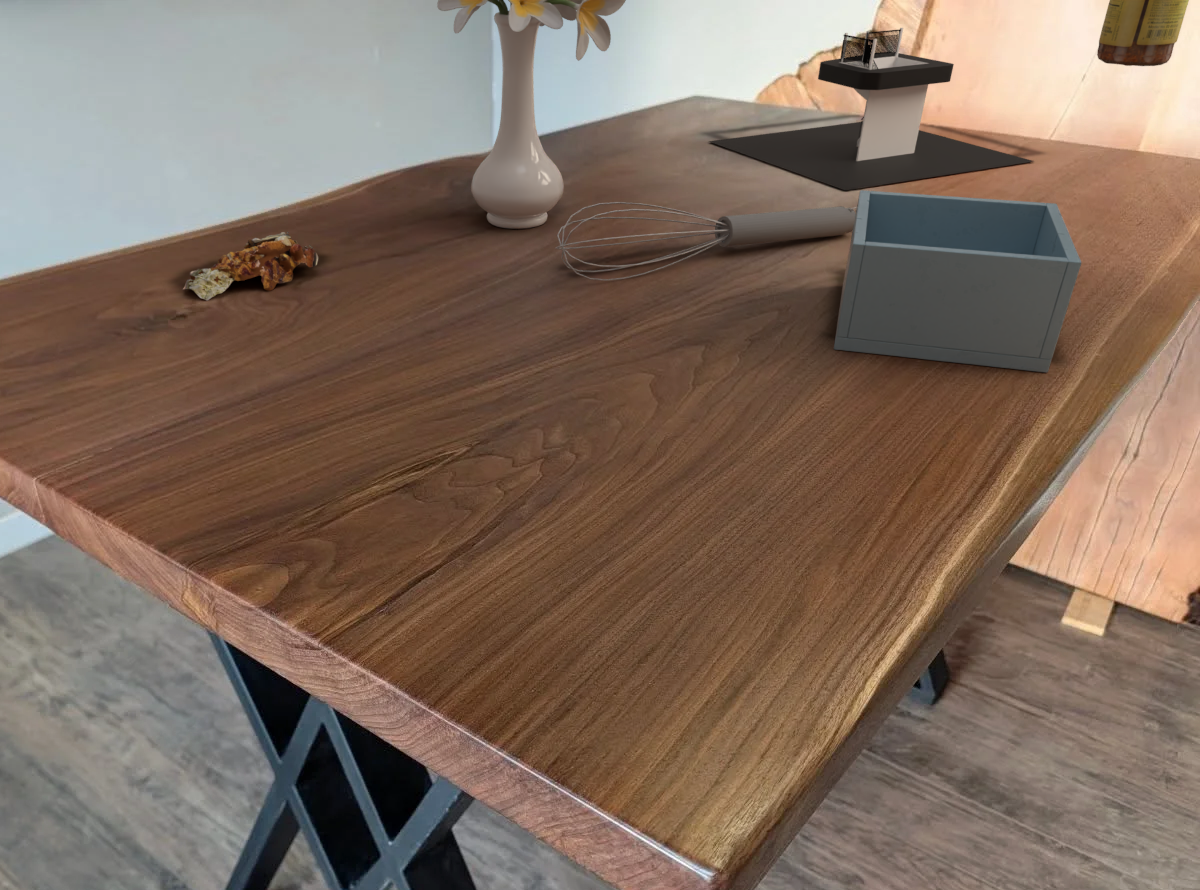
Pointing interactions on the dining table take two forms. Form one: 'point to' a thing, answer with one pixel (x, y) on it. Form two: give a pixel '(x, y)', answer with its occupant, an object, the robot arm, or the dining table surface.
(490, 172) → the flower vase
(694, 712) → the dining table surface
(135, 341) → the dining table surface
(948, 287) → the open box
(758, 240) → the kitchen whisk
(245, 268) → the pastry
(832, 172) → the black-topped pedestal
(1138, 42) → the sauce bottle
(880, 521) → the dining table surface
